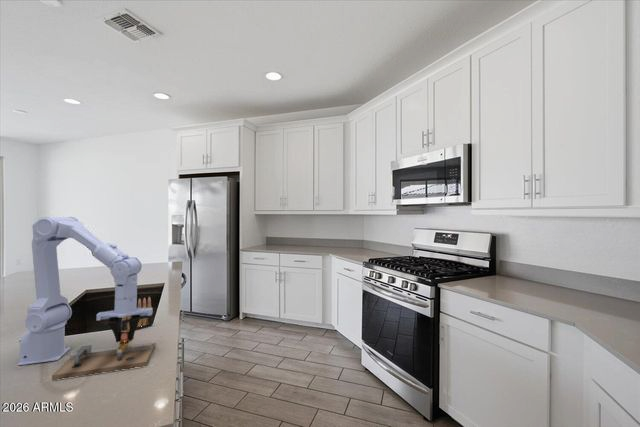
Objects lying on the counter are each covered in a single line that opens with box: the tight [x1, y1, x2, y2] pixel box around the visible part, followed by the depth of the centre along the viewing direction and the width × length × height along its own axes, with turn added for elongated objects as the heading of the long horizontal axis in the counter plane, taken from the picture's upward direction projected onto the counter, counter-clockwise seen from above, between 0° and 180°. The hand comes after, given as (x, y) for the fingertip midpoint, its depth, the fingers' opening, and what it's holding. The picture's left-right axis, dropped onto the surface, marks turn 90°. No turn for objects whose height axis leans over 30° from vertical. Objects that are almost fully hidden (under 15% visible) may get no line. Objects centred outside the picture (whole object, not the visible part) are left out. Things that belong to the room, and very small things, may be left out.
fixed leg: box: [73, 344, 93, 367], centre depth 82 cm, size 2×7×3 cm, turn 20°
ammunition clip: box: [121, 296, 153, 332], centre depth 110 cm, size 11×2×12 cm, turn 141°
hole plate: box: [51, 342, 156, 381], centre depth 85 cm, size 22×13×2 cm, turn 110°
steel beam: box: [68, 342, 153, 360], centre depth 87 cm, size 21×2×2 cm, turn 110°
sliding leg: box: [117, 330, 132, 360], centre depth 86 cm, size 3×7×6 cm, turn 20°
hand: (125, 340), depth 88 cm, fingers closed on sliding leg, 3 cm apart
